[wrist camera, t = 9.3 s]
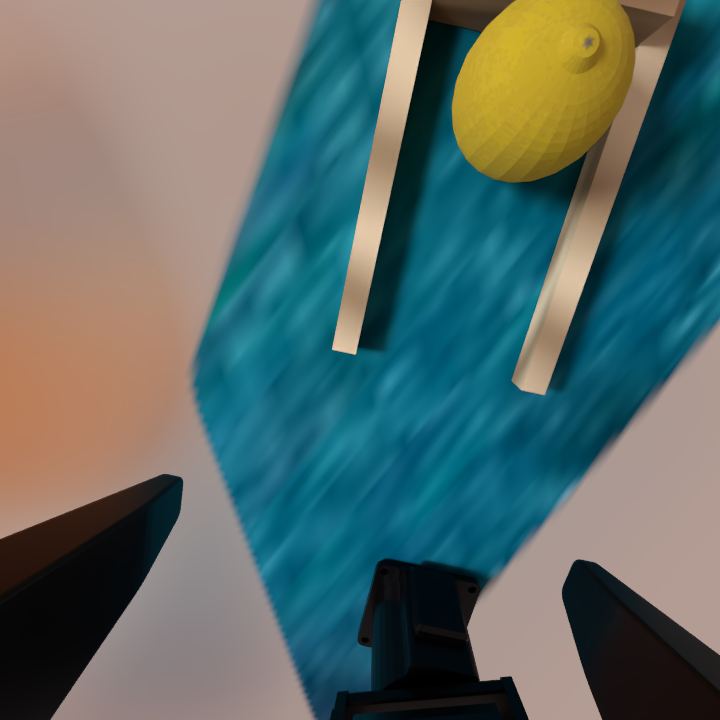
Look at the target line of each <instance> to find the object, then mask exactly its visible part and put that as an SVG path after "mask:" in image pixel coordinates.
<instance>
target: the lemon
mask: <svg viewBox="0 0 720 720" xmlns="http://www.w3.org/2000/svg"><path fill="white" fill-rule="evenodd" d="M635 60H636V55H635V39H634V33H633V30H632V26H631V23H630V20H629V17H628V15H627V14H626V12H625V11H624V9H623V8H622V6H621V5H620V3H619V2H618V1H617V0H516V1H514V2H513V3H511V4H510V5H509V6H508V7H507V8H506V9H505V10H503V11H502V12H501V13H500V14H499V15H498V16H497V17H496V18H495V19H494V20H493V21H492V22H491V23H490V24H489V25H488V26H487V27H486V28H485V29H484V31H483V32H482V33H481V35H480V36H479V38H478V39H477V41H476V42H475V44H474V45H473V47H472V48H471V49H470V51H469V53H468V54H467V56H466V59H465V61H464V64H463V66H462V68H461V71H460V73H459V76H458V78H457V81H456V85H455V91H454V97H453V103H452V118H453V130H454V133H455V136H456V140H457V143H458V146H459V148H460V149H461V151H462V153H463V154H464V156H465V158H466V159H467V161H468V162H469V163H470V164H471V165H472V166H474V167H475V168H476V169H477V170H478V171H479V172H481V173H483V174H485V175H487V176H488V177H490V178H492V179H495V180H500V181H505V182H510V183H514V182H528V181H534V180H537V179H540V178H543V177H546V176H549V175H552V174H555V173H557V172H558V171H560V170H562V169H563V168H565V167H566V166H568V165H570V164H571V163H573V162H574V161H576V160H578V159H579V158H580V157H581V156H583V155H584V154H585V153H586V152H587V151H588V150H589V149H590V148H591V147H592V146H593V145H594V144H595V143H596V142H597V141H598V140H599V139H600V138H601V137H602V135H603V134H604V133H605V132H606V130H607V129H608V127H609V126H610V124H611V123H612V121H613V120H614V118H615V117H616V115H617V114H618V112H619V111H620V109H621V108H622V105H623V103H624V100H625V98H626V95H627V93H628V90H629V88H630V85H631V83H632V78H633V72H634V66H635Z"/></svg>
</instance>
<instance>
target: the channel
mask: <svg viewBox="0 0 720 720" xmlns="http://www.w3.org/2000/svg"><path fill="white" fill-rule="evenodd" d="M514 1H516V0H433V3H432V0H401V5H400V10H399V15H398V20H397V25H396V30H395V35H394V40H393V45H392V50H391V55H390V60H389V65H388V70H387V75H386V80H385V85H384V90H383V95H382V100H381V106H380V111H379V116H378V121H377V126H376V131H375V136H374V141H373V146H372V151H371V156H370V161H369V166H368V171H367V176H366V181H365V186H364V191H363V196H362V201H361V206H360V212H359V217H358V222H357V227H356V232H355V237H354V242H353V247H352V252H351V257H350V262H349V267H348V272H347V277H346V282H345V287H344V292H343V297H342V302H341V307H340V312H339V318H338V323H337V328H336V333H335V338H334V343H333V348H332V350H336V351H341V352H346V353H350V354H355V355H356V351H357V347H358V342H359V337H360V333H361V328H362V323H363V319H364V314H365V309H366V305H367V300H368V295H369V291H370V286H371V282H372V277H373V272H374V268H375V263H376V258H377V254H378V249H379V244H380V240H381V235H382V231H383V226H384V221H385V217H386V212H387V207H388V203H389V198H390V193H391V189H392V184H393V179H394V175H395V170H396V166H397V161H398V156H399V152H400V147H401V142H402V138H403V133H404V128H405V124H406V119H407V114H408V110H409V105H410V101H411V96H412V91H413V87H414V82H415V77H416V73H417V68H418V63H419V59H420V54H421V49H422V45H423V40H424V36H425V31H426V26H427V22H428V17H429V12H430V8H431V3H432V8H431V12H430V17H429V20H432V21H437V22H441V23H445V24H450V25H454V26H458V27H463V28H467V29H471V30H476V31H480V32H483V31H484V29H485V28H486V27H487V26H488V25H489V24H490V23H491V22H492V21H493V20H494V19H495V18H496V17H497V16H498V15H499V14H500V13H501V12H502V11H503V10H505V9H506V8H507V7H508V6H509V5H510V4H511V3H513V2H514ZM617 1H618V2H619V3H620V5H621V6H622V8H623V9H624V11H625V12H626V14H627V15H628V17H629V20H630V23H631V26H632V30H633V33H634V39H635V55H636V60H635V66H634V72H633V78H632V83H631V85H630V88H629V90H628V93H627V95H626V98H625V100H624V103H623V105H622V108H621V109H620V111H619V112H618V114H617V115H616V117H615V118H614V120H613V121H612V123H611V124H610V126H609V127H608V129H607V130H606V132H605V133H604V134H603V135H602V137H601V138H600V139H599V140H598V141H597V142H596V143H595V144H594V145H593V146H592V147H591V148H590V149H589V150H588V152H587V155H586V158H585V161H584V164H583V167H582V170H581V173H580V176H579V179H578V182H577V185H576V188H575V191H574V194H573V197H572V200H571V203H570V206H569V209H568V212H567V215H566V218H565V221H564V224H563V227H562V230H561V233H560V236H559V239H558V242H557V245H556V248H555V251H554V254H553V257H552V260H551V263H550V266H549V269H548V272H547V275H546V278H545V281H544V284H543V288H542V291H541V294H540V297H539V300H538V303H537V306H536V309H535V312H534V315H533V318H532V321H531V324H530V327H529V330H528V333H527V336H526V339H525V342H524V345H523V348H522V351H521V354H520V357H519V360H518V363H517V366H516V369H515V372H514V375H513V378H512V382H513V383H514V384H515V385H517V386H518V387H519V388H520V389H521V390H523V391H528V392H532V393H537V394H542V395H545V393H546V390H547V387H548V385H549V382H550V379H551V376H552V373H553V371H554V368H555V365H556V362H557V359H558V357H559V354H560V351H561V348H562V345H563V343H564V340H565V337H566V334H567V332H568V329H569V326H570V323H571V320H572V318H573V315H574V312H575V309H576V306H577V304H578V301H579V298H580V295H581V293H582V290H583V287H584V284H585V281H586V279H587V276H588V273H589V270H590V267H591V265H592V262H593V259H594V256H595V253H596V251H597V248H598V245H599V242H600V240H601V237H602V234H603V231H604V228H605V226H606V223H607V220H608V217H609V214H610V212H611V209H612V206H613V203H614V201H615V198H616V195H617V192H618V189H619V187H620V184H621V181H622V178H623V175H624V173H625V170H626V167H627V164H628V162H629V159H630V156H631V153H632V150H633V148H634V145H635V142H636V139H637V136H638V134H639V131H640V128H641V125H642V122H643V120H644V117H645V114H646V111H647V109H648V106H649V103H650V100H651V97H652V95H653V92H654V89H655V86H656V83H657V81H658V78H659V75H660V72H661V70H662V67H663V64H664V61H665V58H666V56H667V53H668V50H669V47H670V44H671V42H672V39H673V36H674V33H675V30H676V28H677V25H678V22H679V19H680V17H681V14H682V11H683V8H684V5H685V3H686V0H617Z"/></svg>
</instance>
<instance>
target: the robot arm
mask: <svg viewBox="0 0 720 720" xmlns="http://www.w3.org/2000/svg"><path fill="white" fill-rule="evenodd" d="M182 491H183V480H182V478H181V477H178V476H174V475H169V474H162V475H159V476H157V477H154V478H152V479H149V480H147V481H144V482H142V483H139V484H137V485H134V486H132V487H129V488H127V489H124V490H122V491H119V492H117V493H115V494H112V495H109V496H107V497H104V498H102V499H99V500H97V501H94V502H92V503H89V504H87V505H85V506H82V507H79V508H77V509H74V510H72V511H69V512H67V513H64V514H62V515H59V516H57V517H54V518H52V519H49V520H47V521H45V522H42V523H39V524H37V525H34V526H32V527H29V528H27V529H24V530H22V531H19V532H17V533H14V534H12V535H9V536H7V537H4V538H2V539H0V720H50V719H51V718H52V716H53V715H54V714H55V712H56V711H57V709H58V708H59V706H60V705H61V703H62V702H63V700H64V699H65V697H66V696H67V694H68V693H69V691H70V690H71V689H72V687H73V686H74V684H75V683H76V681H77V680H78V678H79V677H80V675H81V674H82V672H83V671H84V669H85V668H86V666H87V665H88V664H89V662H90V660H91V659H92V657H93V656H94V655H95V653H96V652H97V650H98V649H99V647H100V646H101V644H102V643H103V641H104V640H105V639H106V637H107V635H108V634H109V633H110V631H111V630H112V628H113V627H114V625H115V624H116V622H117V621H118V619H119V618H120V616H121V615H122V614H123V612H124V610H125V609H126V608H127V606H128V605H129V603H130V602H131V600H132V599H133V597H134V596H135V594H136V593H137V591H138V590H139V588H140V586H141V585H142V583H143V582H144V580H145V578H146V576H147V574H148V573H149V571H150V569H151V567H152V565H153V563H154V562H155V560H156V558H157V556H158V554H159V552H160V550H161V549H162V547H163V545H164V543H165V541H166V539H167V538H168V536H169V534H170V532H171V530H172V528H173V526H174V525H175V523H176V521H177V519H178V516H179V513H180V509H181V499H182ZM382 569H387V570H382ZM469 587H472V588H469ZM479 593H480V586H479V583H478V581H477V580H476V579H474V578H469V577H465V576H460V575H455V574H450V573H445V572H440V571H435V570H430V569H426V568H421V567H416V566H411V565H406V564H401V563H396V562H391V561H387V560H382V561H379V562H378V563H377V565H376V568H375V572H374V576H373V579H372V583H371V587H370V591H369V594H368V598H367V602H366V605H365V609H364V613H363V617H362V620H361V624H360V628H359V631H358V642H359V644H361V645H363V646H367V647H372V663H371V691H365V692H354V693H349V691H339V692H338V693H337V698H336V703H335V708H334V709H332V713H331V718H330V720H529V719H528V716H527V714H526V712H525V709H524V707H523V704H522V702H521V699H520V697H519V694H518V692H517V689H516V687H515V684H514V682H513V679H512V677H511V676H509V677H500V680H490V681H480V679H479V675H478V671H477V667H476V663H475V659H474V655H473V651H472V647H471V642H470V638H469V634H468V630H467V626H468V623H469V620H470V618H471V615H472V612H473V609H474V607H475V604H476V601H477V598H478V596H479ZM562 599H563V602H564V606H565V609H566V613H567V616H568V620H569V623H570V626H571V630H572V633H573V637H574V640H575V643H576V647H577V650H578V654H579V657H580V660H581V663H582V666H583V669H584V673H585V676H586V678H587V681H588V684H589V687H590V689H591V692H592V695H593V697H594V700H595V702H596V705H597V707H598V710H599V712H600V715H601V718H602V720H720V655H719V654H717V653H716V652H715V651H713V650H712V649H711V648H709V647H708V646H707V645H705V644H704V643H703V642H701V641H700V640H699V639H697V638H696V637H695V636H693V635H692V634H690V633H689V632H688V631H686V630H685V629H684V628H683V627H681V626H679V624H677V623H676V622H674V621H673V620H672V619H670V618H669V617H668V616H666V615H665V614H664V613H662V612H661V611H660V610H658V609H657V608H656V607H654V606H653V605H652V604H650V603H649V602H648V601H646V600H645V599H644V598H642V597H641V596H640V595H638V594H637V593H636V592H634V591H633V590H631V589H630V588H629V587H628V586H626V585H625V584H624V583H622V582H621V581H620V580H618V579H617V578H616V577H614V576H613V575H612V574H610V573H609V572H608V571H606V570H605V569H604V568H602V567H601V566H600V565H598V564H597V563H594V562H590V561H585V560H576V561H575V562H574V563H573V564H572V567H571V569H570V571H569V574H568V576H567V578H566V580H565V583H564V585H563V588H562Z"/></svg>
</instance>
